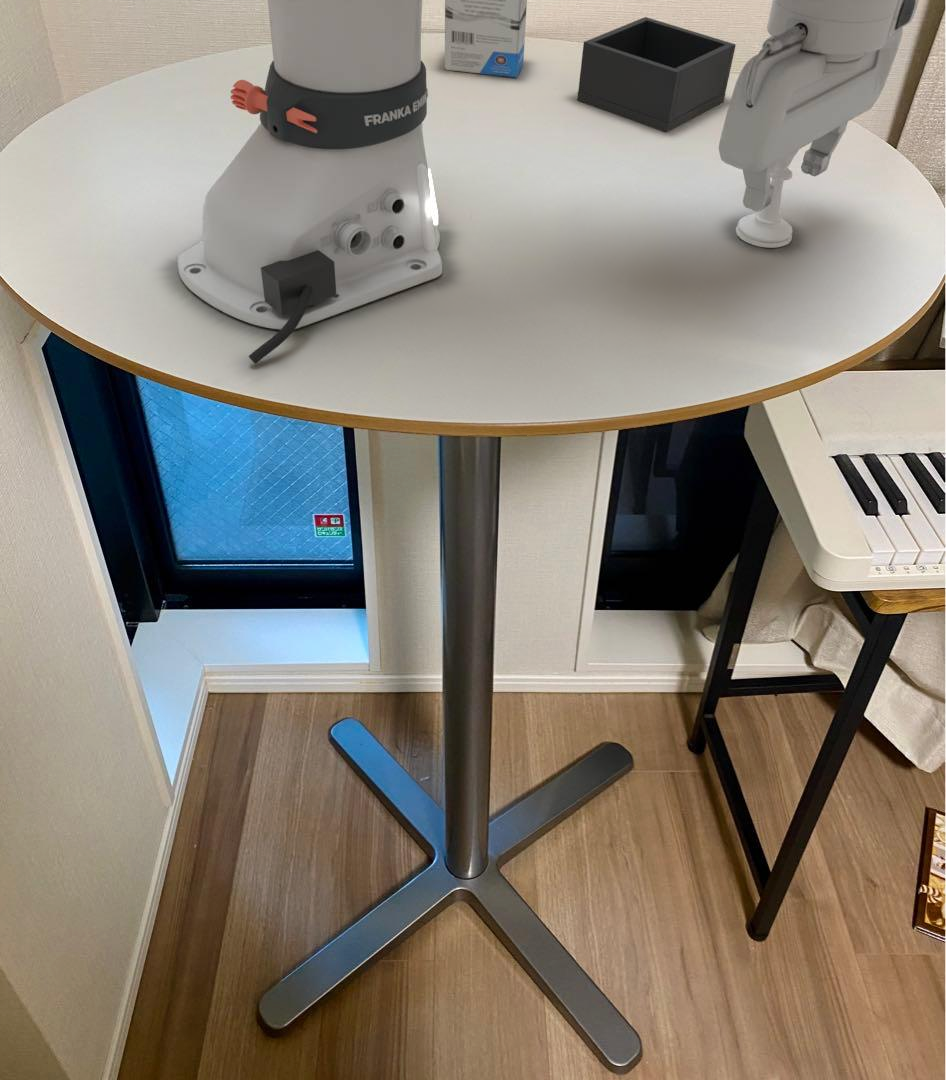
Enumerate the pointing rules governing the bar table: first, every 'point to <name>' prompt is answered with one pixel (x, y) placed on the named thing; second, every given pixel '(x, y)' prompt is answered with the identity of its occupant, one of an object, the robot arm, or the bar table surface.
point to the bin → (655, 73)
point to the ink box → (485, 36)
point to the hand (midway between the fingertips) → (785, 189)
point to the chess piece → (769, 214)
